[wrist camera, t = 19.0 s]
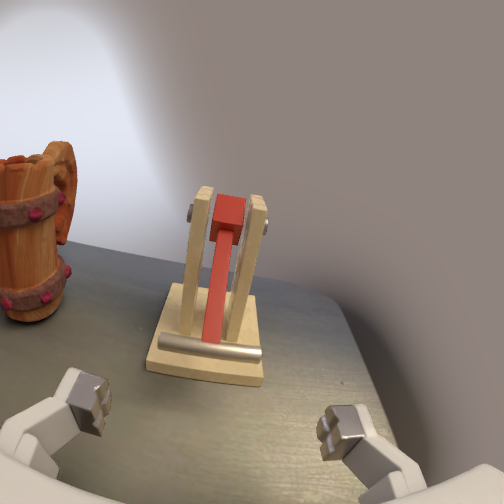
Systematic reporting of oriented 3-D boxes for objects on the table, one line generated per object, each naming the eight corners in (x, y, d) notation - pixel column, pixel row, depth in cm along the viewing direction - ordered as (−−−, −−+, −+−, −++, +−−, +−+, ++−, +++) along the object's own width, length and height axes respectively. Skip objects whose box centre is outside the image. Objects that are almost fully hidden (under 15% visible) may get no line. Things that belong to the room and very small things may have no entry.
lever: (255, 368, 17) (264, 359, 15) (159, 354, 17) (154, 342, 15) (263, 223, 24) (270, 202, 22) (191, 210, 24) (192, 189, 22)
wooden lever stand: (260, 387, 21) (308, 235, 17) (146, 370, 20) (150, 208, 15) (252, 304, 32) (279, 191, 28) (172, 291, 31) (185, 174, 26)
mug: (45, 347, 19) (22, 158, 13) (-18, 323, 17) (-44, 158, 12) (100, 268, 32) (105, 140, 26) (47, 257, 31) (46, 138, 25)
